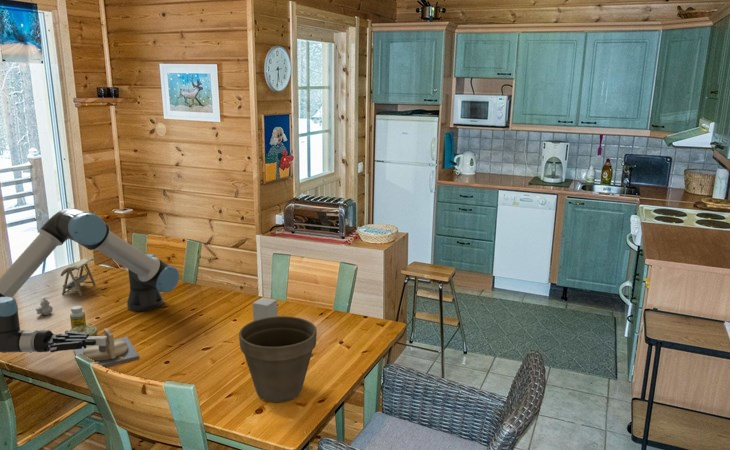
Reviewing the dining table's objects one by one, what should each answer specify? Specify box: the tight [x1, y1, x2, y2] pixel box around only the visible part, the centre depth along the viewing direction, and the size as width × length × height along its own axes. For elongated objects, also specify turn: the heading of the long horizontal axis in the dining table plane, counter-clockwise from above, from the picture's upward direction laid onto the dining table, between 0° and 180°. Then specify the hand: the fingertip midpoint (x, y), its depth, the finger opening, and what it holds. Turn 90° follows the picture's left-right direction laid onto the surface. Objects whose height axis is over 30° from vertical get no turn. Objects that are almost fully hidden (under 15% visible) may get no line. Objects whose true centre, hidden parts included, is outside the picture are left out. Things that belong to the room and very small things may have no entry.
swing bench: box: [60, 257, 97, 297], centre depth 270 cm, size 15×10×15 cm, turn 178°
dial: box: [83, 327, 128, 361], centre depth 207 cm, size 17×15×10 cm
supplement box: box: [252, 297, 278, 321], centre depth 231 cm, size 7×7×13 cm
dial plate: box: [73, 336, 140, 368], centre depth 209 cm, size 19×19×1 cm
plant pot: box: [238, 315, 318, 403], centre depth 184 cm, size 25×25×22 cm
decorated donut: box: [69, 324, 98, 336], centre depth 222 cm, size 10×11×4 cm
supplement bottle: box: [69, 305, 87, 329], centre depth 228 cm, size 5×5×10 cm
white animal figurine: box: [35, 297, 53, 316], centre depth 242 cm, size 5×7×8 cm
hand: (106, 340), depth 200 cm, fingers closed
